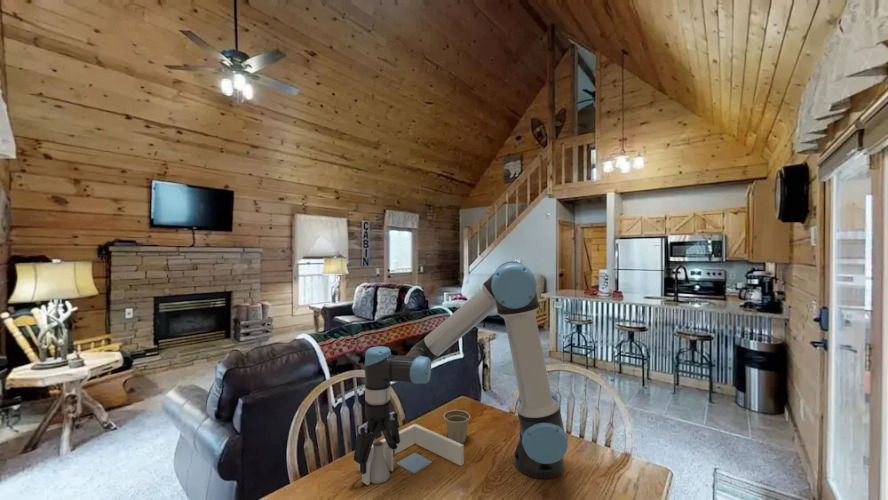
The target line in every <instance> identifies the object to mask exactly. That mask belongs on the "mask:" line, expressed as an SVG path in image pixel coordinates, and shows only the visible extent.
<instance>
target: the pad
mask: <svg viewBox="0 0 888 500" xmlns="http://www.w3.org/2000/svg"><path fill="white" fill-rule="evenodd" d="M432 463H433V461H432V460H430V459H429V458H427V457H424V456H422V455H420V454H418V453H417V452H413V453H412V454H409V455H408V456H406V457H404V458H403V459H401V460H400V461H397V462H396V465H398V466H399V467H401V468H402V469H405V470H406V471H408V472H409V473H411V474H413V475H415V474H416V473H418V472H420V471H421V470H422V469H424V468H426V467H428V466H429V465H431V464H432Z"/></svg>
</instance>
